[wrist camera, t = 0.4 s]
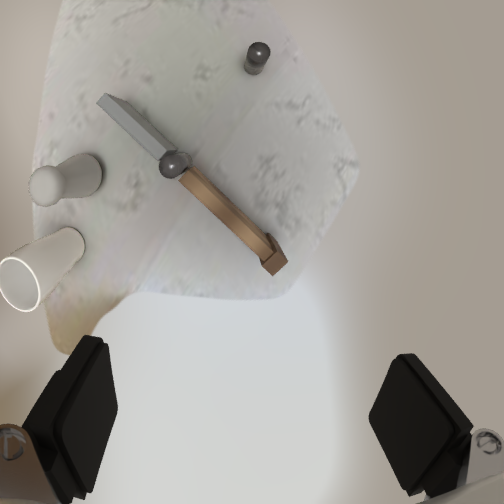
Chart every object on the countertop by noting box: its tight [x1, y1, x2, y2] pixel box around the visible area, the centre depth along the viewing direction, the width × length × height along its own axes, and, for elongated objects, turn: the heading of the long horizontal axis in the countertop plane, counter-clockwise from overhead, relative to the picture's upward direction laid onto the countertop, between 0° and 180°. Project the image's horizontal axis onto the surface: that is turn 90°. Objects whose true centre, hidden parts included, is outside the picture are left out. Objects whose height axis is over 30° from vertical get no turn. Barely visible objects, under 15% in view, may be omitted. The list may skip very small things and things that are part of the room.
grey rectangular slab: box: [96, 93, 178, 161], centre depth 33 cm, size 10×2×8 cm, turn 44°
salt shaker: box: [29, 154, 102, 207], centre depth 32 cm, size 6×6×13 cm
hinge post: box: [159, 153, 192, 178], centre depth 35 cm, size 2×2×10 cm
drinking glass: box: [0, 227, 85, 312], centre depth 34 cm, size 7×7×15 cm
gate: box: [178, 166, 288, 276], centre depth 37 cm, size 15×2×8 cm, turn 44°
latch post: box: [244, 42, 270, 75], centre depth 32 cm, size 2×2×7 cm
